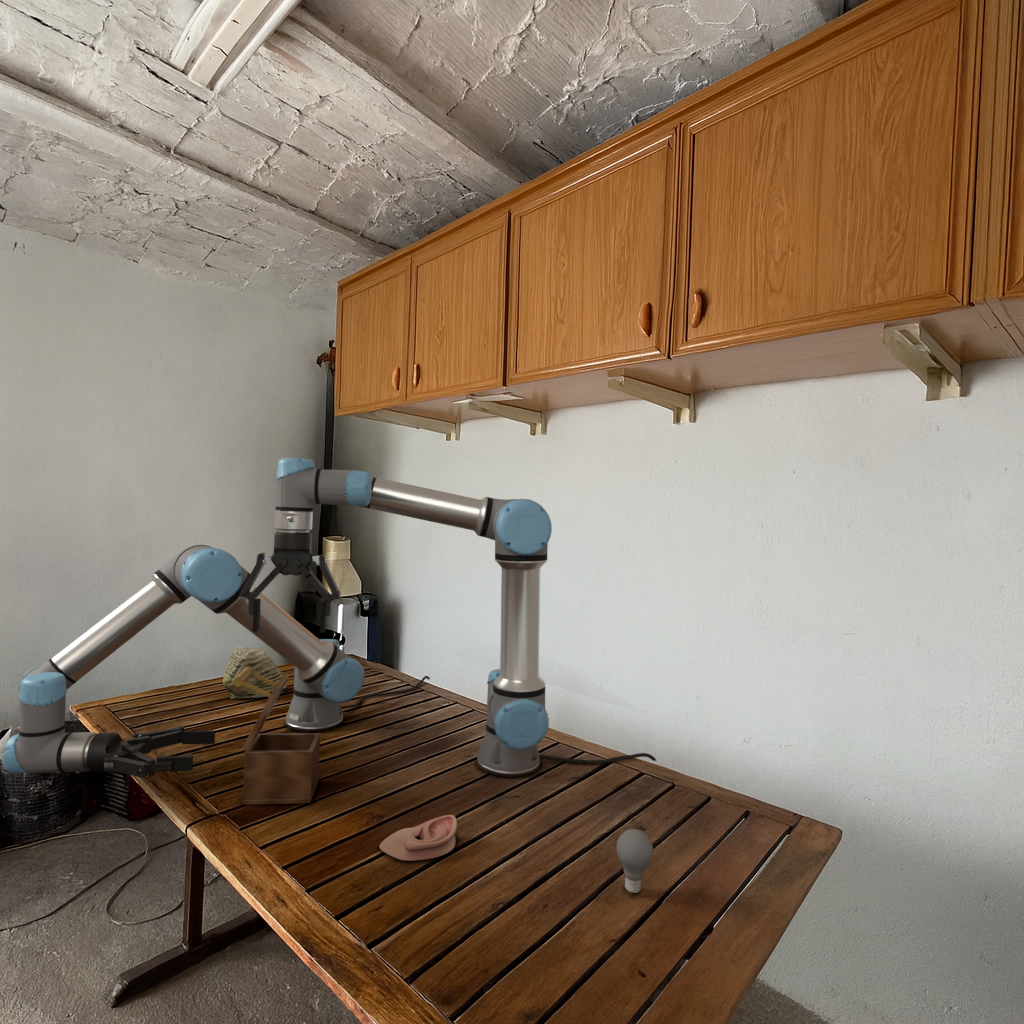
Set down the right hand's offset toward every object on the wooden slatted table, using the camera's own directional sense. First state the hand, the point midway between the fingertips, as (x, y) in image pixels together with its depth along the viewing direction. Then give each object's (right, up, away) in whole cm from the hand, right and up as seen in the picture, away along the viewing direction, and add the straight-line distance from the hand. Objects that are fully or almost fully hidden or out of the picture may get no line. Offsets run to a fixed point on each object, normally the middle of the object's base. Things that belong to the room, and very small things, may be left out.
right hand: (289, 631), depth 134 cm
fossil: (-33, -32, +64) cm, 79 cm away
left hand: (-17, -24, -2) cm, 30 cm away
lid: (-4, -17, 0) cm, 17 cm away
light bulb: (+67, -38, -29) cm, 83 cm away
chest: (-2, -35, +1) cm, 35 cm away
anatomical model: (+30, -36, -18) cm, 50 cm away
